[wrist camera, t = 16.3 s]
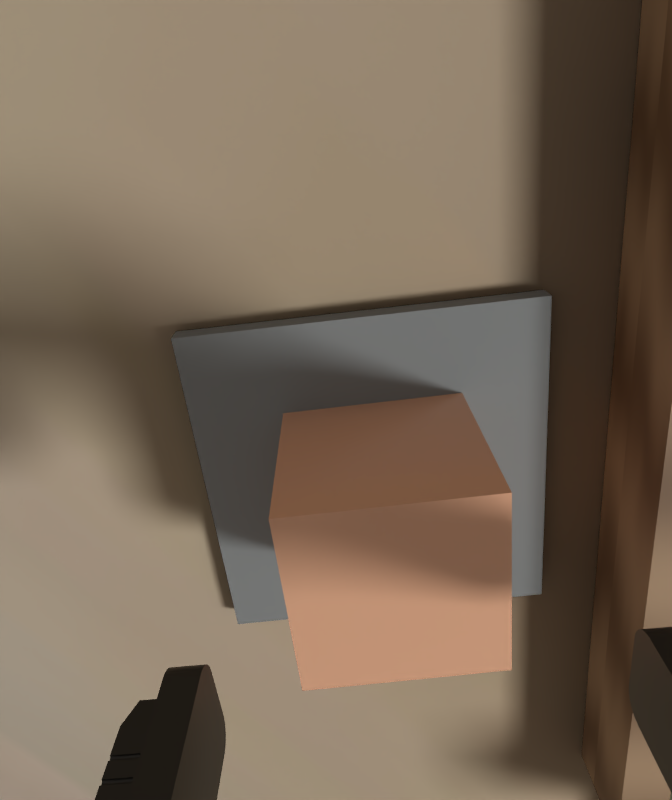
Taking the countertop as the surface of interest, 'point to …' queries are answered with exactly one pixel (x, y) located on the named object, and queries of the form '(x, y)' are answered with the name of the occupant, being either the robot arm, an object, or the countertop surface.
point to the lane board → (637, 439)
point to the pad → (362, 384)
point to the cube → (392, 543)
